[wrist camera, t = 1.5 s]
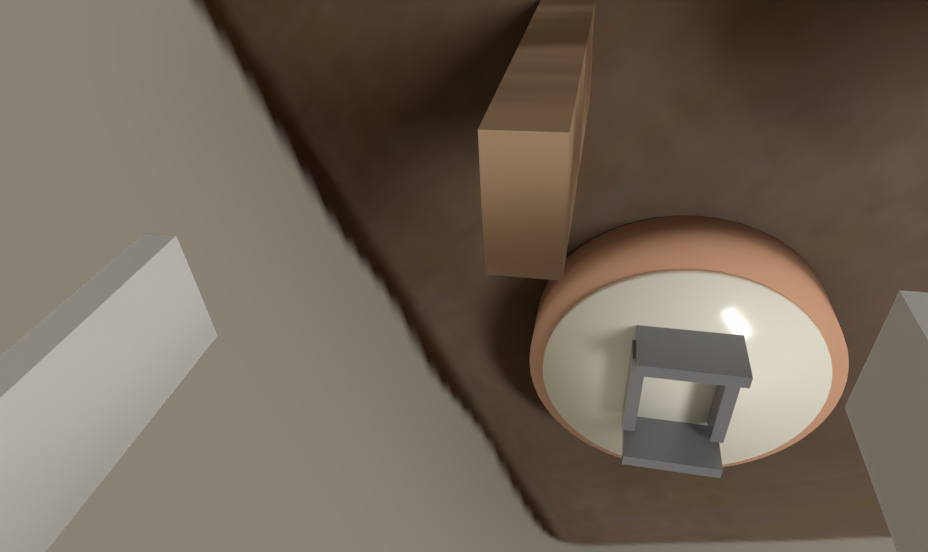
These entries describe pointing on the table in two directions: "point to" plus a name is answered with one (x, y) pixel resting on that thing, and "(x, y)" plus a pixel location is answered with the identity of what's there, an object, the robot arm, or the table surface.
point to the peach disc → (688, 345)
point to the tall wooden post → (537, 143)
